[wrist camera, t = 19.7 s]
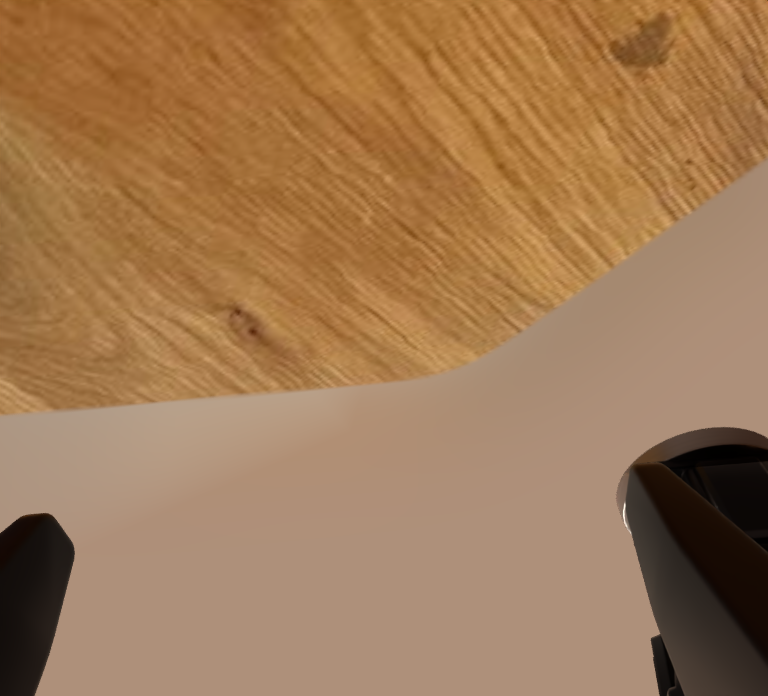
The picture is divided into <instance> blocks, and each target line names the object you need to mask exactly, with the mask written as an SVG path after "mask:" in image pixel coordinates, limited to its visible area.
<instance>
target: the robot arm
mask: <svg viewBox="0 0 768 696" xmlns="http://www.w3.org/2000/svg"><path fill="white" fill-rule="evenodd" d="M625 508H626V515H627V519H628V523H629V526H630V530H631V534H632V537H633V541H634V546H635V548H636V552H637V556H638V560H639V563H640V567H641V571H642V574H643V578H644V582H645V586H646V589H647V593H648V597H649V600H650V604H651V607H652V611H653V614H654V617H655V620H656V623H657V626H658V628H659V631H660V634H659V635H657V636H655V637H652V638H651V644H652V648H653V655H654V657H653V661H654V666H655V671H656V678H657V683H658V689H659V694H660V696H768V452H766V453H754V454H742V455H730V456H718V457H706V458H694V459H682V460H670V461H658V462H653V463H642V464H635V465H633V466H632V467H631V468H630V472H629V478H628V485H627V492H626V499H625ZM74 555H75V551H74V546H73V543H72V541H71V540H70V538H69V537H68V536H67V534H66V533H65V532H64V530H63V529H62V527H61V526H60V524H59V523H58V522H57V520H56V519H55V518H54V517H53V516H52V515H50V514H48V513H41V514H30V515H25V516H22V517H20V518H19V519H18V520H16V521H15V522H13V523H12V524H11V525H10V526H9V527H7V528H6V529H5V530H4V531H3V532H1V533H0V696H35V693H36V690H37V687H38V685H39V682H40V679H41V676H42V674H43V671H44V668H45V665H46V662H47V659H48V656H49V653H50V650H51V646H52V643H53V639H54V636H55V632H56V628H57V624H58V620H59V616H60V612H61V609H62V605H63V600H64V597H65V593H66V589H67V585H68V581H69V577H70V573H71V569H72V566H73V562H74Z"/></svg>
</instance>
